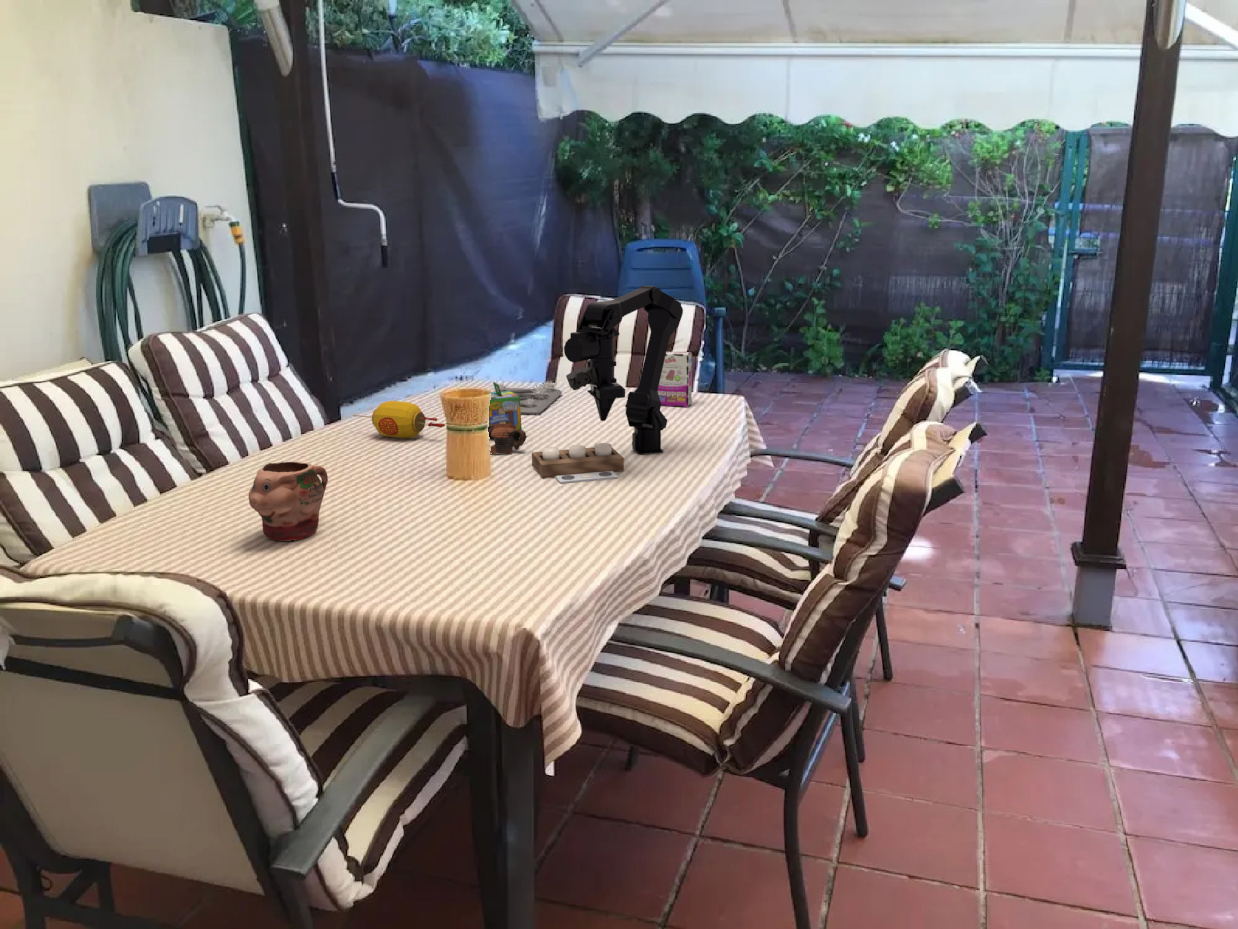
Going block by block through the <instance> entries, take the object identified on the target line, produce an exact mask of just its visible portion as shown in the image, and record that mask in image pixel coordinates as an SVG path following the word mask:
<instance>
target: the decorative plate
mask: <svg viewBox="0 0 1238 929" xmlns="http://www.w3.org/2000/svg"><path fill="white" fill-rule="evenodd" d="M544 382H545V383H544ZM544 382H541V383H542V384H540V383H539V385H538V386H537V384H535V387H534V386H532V388H524V387H522V388H521V387H520V388H519V387H507V385H506V384H505V385H504V383H501V382H500V383H497V384H498V385H499V388H500V391H501V392H505V391H511V392H513V393H515V394H517V395H519V396H520V408H521V416H523V415H526V416H527V415H528V416H538V415H540V414H541V413H542V412H544V410H545V409H546V408H548V407H549V406H550V405H551V404H552V403H553V402H554V401H556V400H557V399H558V398H559V397H560V396H561V395H562V394H563V391H562V390H560V389H557V387H555V386H556V384H555V382H554V381H553V382H552V380H550V381H549V380H547V381H546V380H544ZM497 390H498V388H497ZM493 391H496V390H495V388H493ZM498 391H499V390H498Z"/></svg>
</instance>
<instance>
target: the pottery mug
mask: <svg viewBox="0 0 1238 929" xmlns="http://www.w3.org/2000/svg"><path fill="white" fill-rule="evenodd" d="M488 432H489V437H490V439H494V440H493V441H494V444H493V445H490V446H491V453H492V455H497V454H498V455H499V454H501V455H507V454H508V455H512V453H513V449H514V450H515V451H518V450H519V448H520V447H522V446H523V445H524V443H525V442H526V440H527V433H526V432H525V430H523V429H522V430H521V429H518V430H516V427H515V426H514V425H512V424H495V425H491V426H489V427H488Z"/></svg>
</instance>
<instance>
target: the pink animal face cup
mask: <svg viewBox="0 0 1238 929" xmlns="http://www.w3.org/2000/svg"><path fill="white" fill-rule="evenodd" d="M327 472H328V471H327V470H326V469H325V468H324V467H323V466H321V465H312V464H311V463H308V462H300V461H282V462H271V463H270V462H269V463H266V464H265V465H264V466H262V467H261V468H260V469H258V470H257V473H256V476H255V478H254V480H253V483H252V484H253V485H252V486H251V488H250V490H249V492H248V502H249V506H250V507H251V508H252V509H253V510H254V511H256V512H257V513H258V515H259V516H260V517H261V522H262V523H261V524H262V526H261V527H262V531H263V532H262V533H263V536H264V537H265V538H267V539H268V540H273V541H281V542H283V541H284V542H289V541H290V542H292V541H291V540H294V541H298V540H302V539H306V538H309V537H311V536H312V534H313V535H314V534H315V533H316V532H317V531H318V529H319V520H320V511H321V508H322V507H321V506H322V502H323V500H324V496H325V495H324V494H325V493H326V492H325V491H326V489H327V484H328V482H329V478H328V473H327ZM310 535H311V536H310ZM308 536H309V537H308ZM305 537H306V538H305Z"/></svg>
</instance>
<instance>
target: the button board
mask: <svg viewBox="0 0 1238 929" xmlns="http://www.w3.org/2000/svg"><path fill="white" fill-rule="evenodd" d="M585 450H586V457H583V458H571V459H570V458H569V448H568V449H559V460H547V461H543V452H542V451H534V452H533V451H532V452H531V466H532V467H533V466H534V467H533V468H534V469H535V471H536V472H537V473H538V474H540V475H539V476H540V477H541V479H548V478H549V479H550V478H555V476H561V475H572V474H583V473H595V472H606V471H613V472H614V473H616V472H625V458H624V456H622V455H621V453H620V452H618V451H617V450H616V449H614V448H613V447H612V446H611V455H607V456H595V446H593V447H585Z"/></svg>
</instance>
